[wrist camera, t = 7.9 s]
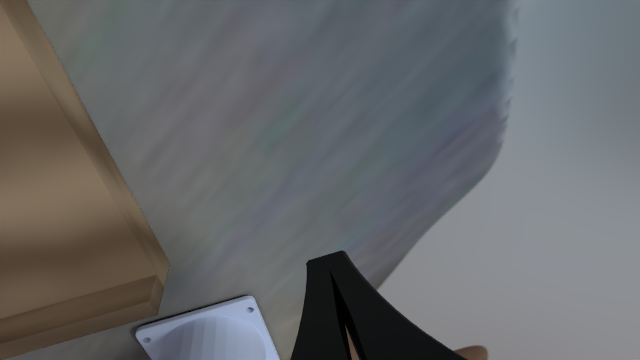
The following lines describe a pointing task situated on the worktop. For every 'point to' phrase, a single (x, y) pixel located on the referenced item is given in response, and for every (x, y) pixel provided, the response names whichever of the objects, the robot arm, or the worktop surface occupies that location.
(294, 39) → the worktop surface
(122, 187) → the box
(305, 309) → the robot arm
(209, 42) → the worktop surface
